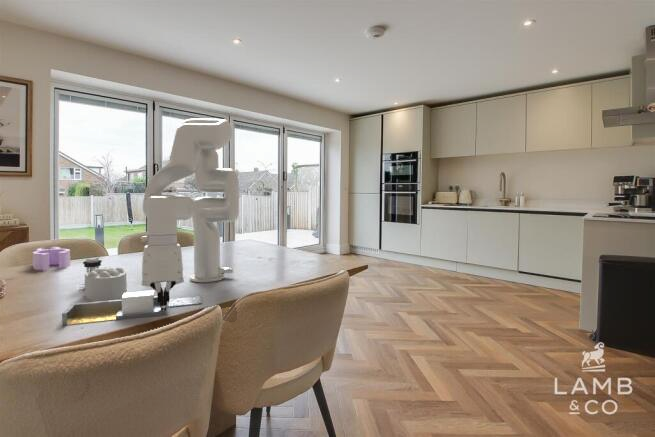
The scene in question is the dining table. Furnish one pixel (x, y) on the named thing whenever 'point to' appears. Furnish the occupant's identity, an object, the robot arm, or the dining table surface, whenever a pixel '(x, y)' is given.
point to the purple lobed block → (50, 258)
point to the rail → (104, 312)
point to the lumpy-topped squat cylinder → (105, 284)
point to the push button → (91, 265)
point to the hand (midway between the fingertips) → (163, 304)
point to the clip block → (138, 302)
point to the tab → (185, 301)
